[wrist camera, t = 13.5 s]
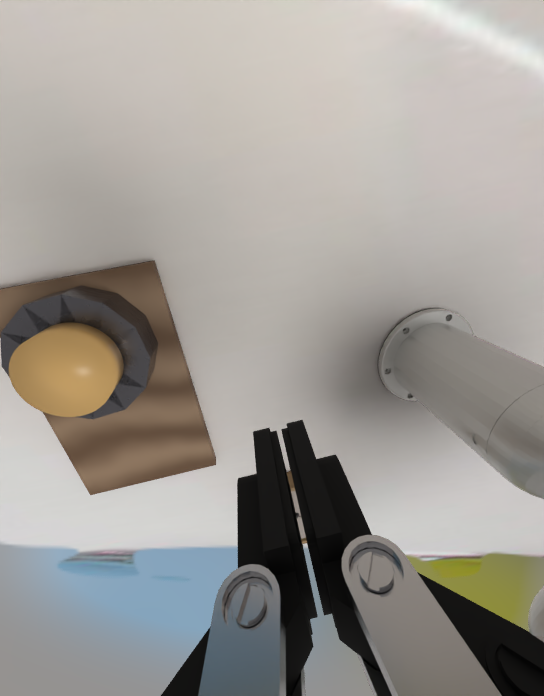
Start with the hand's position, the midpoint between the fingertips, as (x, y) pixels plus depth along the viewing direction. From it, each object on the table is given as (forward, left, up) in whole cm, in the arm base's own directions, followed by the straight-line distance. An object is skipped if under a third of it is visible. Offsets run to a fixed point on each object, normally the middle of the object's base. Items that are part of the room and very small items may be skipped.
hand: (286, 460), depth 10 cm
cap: (+8, +14, -23) cm, 28 cm away
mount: (+3, +17, -25) cm, 30 cm away
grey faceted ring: (+8, +14, -23) cm, 28 cm away
